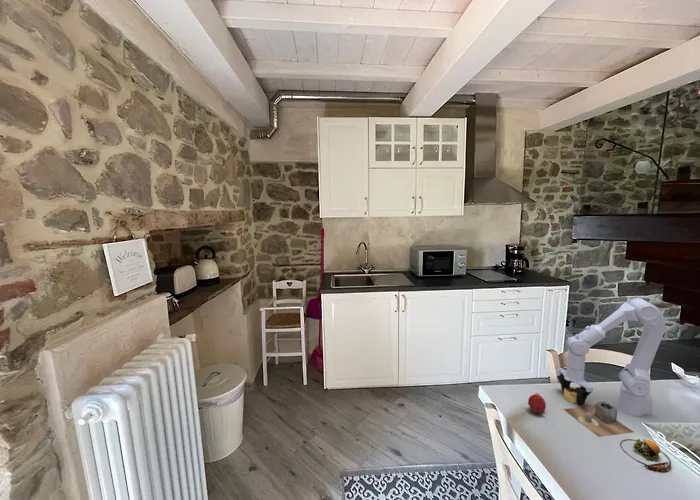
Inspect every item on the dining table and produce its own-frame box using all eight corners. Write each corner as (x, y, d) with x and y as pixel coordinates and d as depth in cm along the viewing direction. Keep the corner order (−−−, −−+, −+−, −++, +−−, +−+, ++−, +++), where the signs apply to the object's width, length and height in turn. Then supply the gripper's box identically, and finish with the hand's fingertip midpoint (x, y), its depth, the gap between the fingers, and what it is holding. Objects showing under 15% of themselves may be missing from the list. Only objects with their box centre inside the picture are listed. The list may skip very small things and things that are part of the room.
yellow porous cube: (572, 397, 130) (573, 386, 130) (583, 405, 125) (584, 393, 125) (561, 398, 130) (562, 387, 129) (572, 406, 125) (573, 394, 124)
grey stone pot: (604, 413, 118) (605, 401, 118) (618, 422, 113) (619, 410, 112) (592, 415, 118) (593, 402, 117) (605, 424, 112) (606, 411, 112)
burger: (619, 438, 108) (621, 418, 107) (668, 455, 100) (671, 433, 99) (620, 460, 98) (622, 438, 97) (674, 480, 91) (677, 457, 90)
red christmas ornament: (547, 418, 118) (549, 398, 117) (530, 416, 119) (532, 396, 118) (541, 408, 124) (542, 389, 123) (525, 406, 125) (526, 387, 124)
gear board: (594, 408, 123) (595, 398, 123) (634, 435, 109) (635, 424, 108) (562, 412, 121) (563, 401, 121) (598, 440, 107) (599, 428, 106)
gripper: (552, 359, 132) (550, 389, 134) (582, 377, 118) (579, 410, 120) (567, 357, 133) (564, 387, 135) (599, 375, 119) (595, 409, 121)
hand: (572, 398), depth 127 cm, fingers open, 7 cm apart
